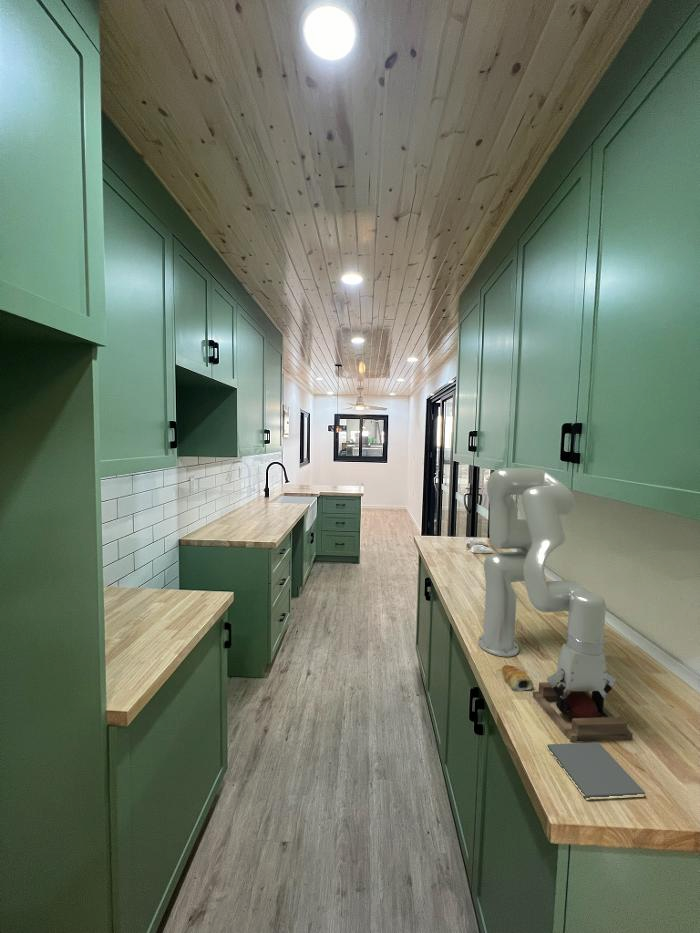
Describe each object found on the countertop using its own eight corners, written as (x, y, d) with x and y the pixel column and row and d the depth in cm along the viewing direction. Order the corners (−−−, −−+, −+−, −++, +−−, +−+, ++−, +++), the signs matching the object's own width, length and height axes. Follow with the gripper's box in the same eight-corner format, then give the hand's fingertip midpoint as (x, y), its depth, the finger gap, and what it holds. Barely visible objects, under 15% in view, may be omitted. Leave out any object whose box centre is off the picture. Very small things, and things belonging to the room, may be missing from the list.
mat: (547, 748, 83) (547, 744, 82) (598, 746, 84) (598, 742, 83) (585, 800, 71) (586, 795, 71) (644, 797, 72) (645, 792, 72)
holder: (532, 696, 99) (533, 682, 99) (585, 695, 101) (586, 681, 100) (570, 742, 85) (571, 725, 84) (632, 739, 86) (633, 723, 86)
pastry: (495, 671, 111) (496, 659, 110) (516, 670, 111) (517, 658, 111) (512, 692, 101) (513, 679, 101) (536, 691, 102) (537, 678, 102)
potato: (591, 709, 96) (593, 686, 95) (601, 734, 87) (603, 710, 87) (558, 701, 98) (560, 679, 98) (565, 725, 90) (567, 701, 89)
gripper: (605, 634, 96) (600, 699, 97) (541, 635, 94) (537, 701, 96) (629, 651, 88) (624, 720, 90) (560, 652, 87) (555, 723, 88)
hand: (579, 710), depth 93 cm, fingers open, 8 cm apart
